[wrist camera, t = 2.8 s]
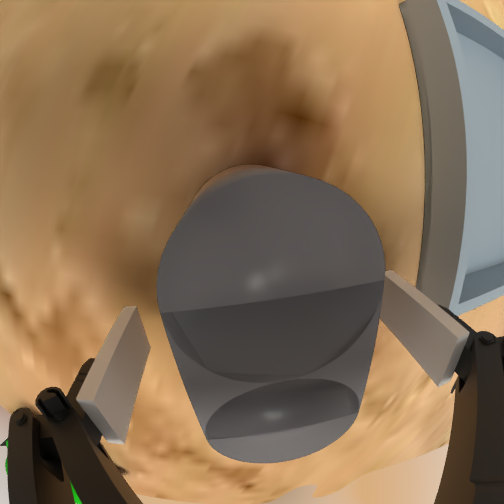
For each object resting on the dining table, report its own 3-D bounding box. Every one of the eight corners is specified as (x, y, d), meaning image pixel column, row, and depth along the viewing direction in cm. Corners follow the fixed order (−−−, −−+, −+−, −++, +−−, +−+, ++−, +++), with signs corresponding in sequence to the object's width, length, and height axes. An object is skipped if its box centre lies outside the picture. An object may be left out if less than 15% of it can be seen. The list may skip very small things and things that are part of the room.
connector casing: (178, 173, 14) (132, 193, 6) (307, 159, 14) (389, 168, 7) (222, 395, 20) (228, 483, 12) (310, 381, 20) (341, 462, 13)
